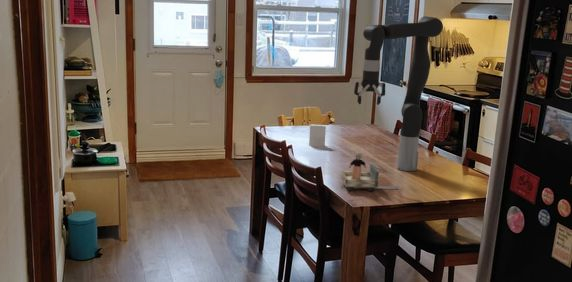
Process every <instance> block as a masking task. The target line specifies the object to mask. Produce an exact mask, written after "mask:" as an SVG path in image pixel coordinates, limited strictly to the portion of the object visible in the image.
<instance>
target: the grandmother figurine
mask: <svg viewBox="0 0 572 282" xmlns="http://www.w3.org/2000/svg"><path fill="white" fill-rule="evenodd" d="M354 158H355V159H353V160H352V161H351V162H350V163H349V166H348V168H349V169H351V168H352V171H351V172H352V178H351V179H353V180H355V178H356V180H361V179H360V176H361V172H362V166H363V168H364V169H366V168H367V165H366V162H365V161H364V160H362V158H363V154H362V152H360V151H356V152H355V153H354Z"/></svg>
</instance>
